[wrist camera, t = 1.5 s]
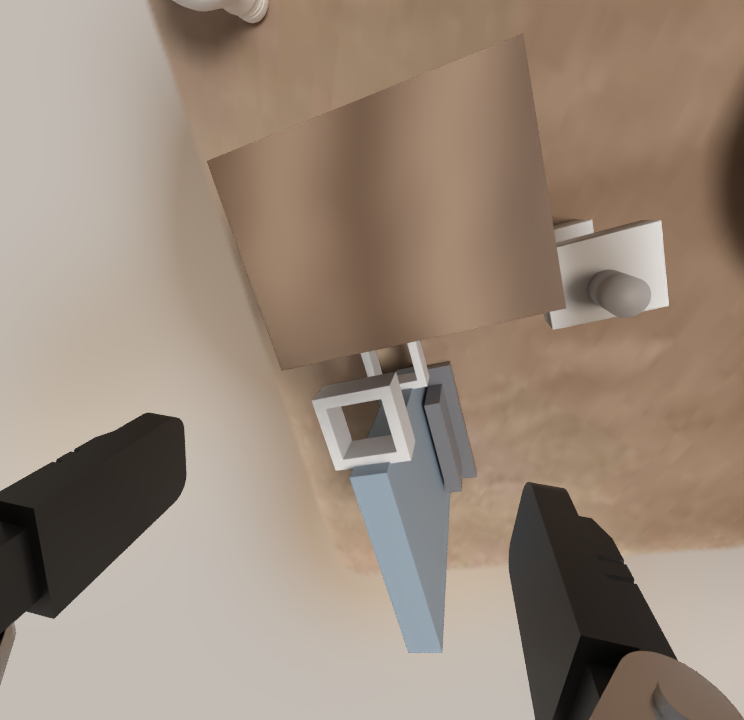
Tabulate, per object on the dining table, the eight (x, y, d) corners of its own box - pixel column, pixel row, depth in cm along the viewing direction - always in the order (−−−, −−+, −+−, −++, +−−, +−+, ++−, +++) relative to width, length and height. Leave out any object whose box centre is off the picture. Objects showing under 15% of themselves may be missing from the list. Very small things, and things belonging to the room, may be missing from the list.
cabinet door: (420, 316, 34) (385, 393, 19) (462, 483, 38) (461, 652, 23) (372, 328, 35) (304, 408, 20) (418, 488, 39) (390, 652, 24)
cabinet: (561, 112, 28) (700, -38, 12) (583, 269, 31) (721, 328, 14) (336, 189, 33) (206, 161, 16) (374, 319, 36) (295, 408, 19)
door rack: (449, 361, 36) (447, 382, 31) (476, 470, 38) (478, 505, 34) (373, 376, 37) (360, 398, 33) (404, 479, 40) (396, 513, 36)
